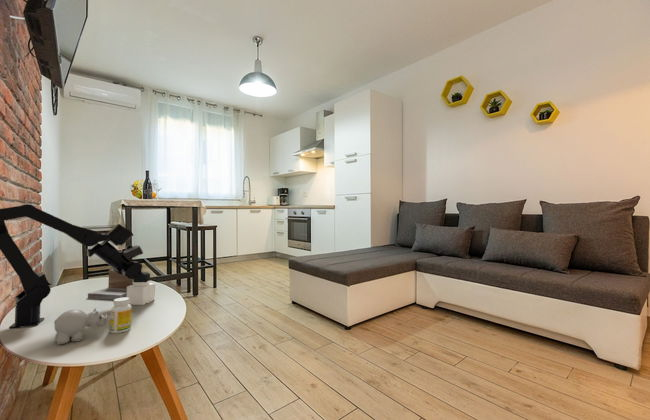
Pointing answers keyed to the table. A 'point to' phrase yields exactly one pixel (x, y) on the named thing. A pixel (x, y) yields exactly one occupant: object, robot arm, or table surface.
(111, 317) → the supplement bottle
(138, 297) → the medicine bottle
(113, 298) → the wall board
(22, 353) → the table surface
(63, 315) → the round bodied animal figurine
